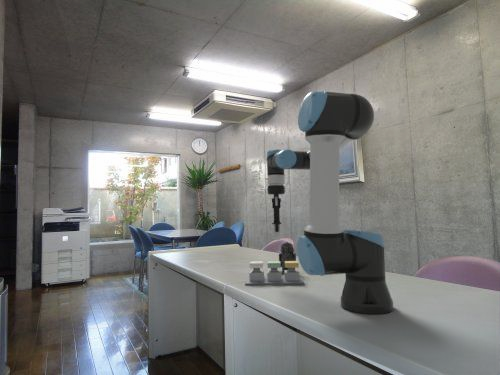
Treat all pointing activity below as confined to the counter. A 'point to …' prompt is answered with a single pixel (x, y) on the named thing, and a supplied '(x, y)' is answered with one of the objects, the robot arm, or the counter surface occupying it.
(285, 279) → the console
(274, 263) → the button green
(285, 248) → the toy
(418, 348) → the counter surface
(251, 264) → the button white
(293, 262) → the button ochre
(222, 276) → the counter surface
